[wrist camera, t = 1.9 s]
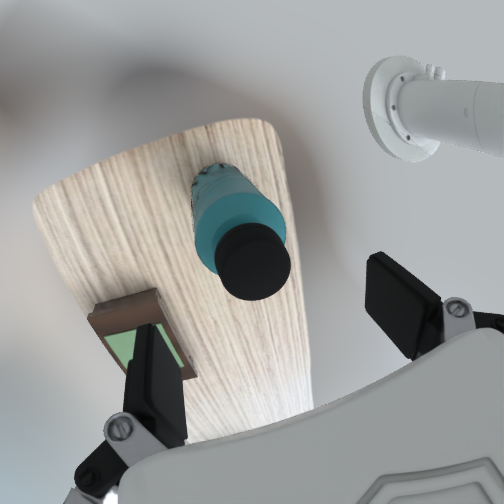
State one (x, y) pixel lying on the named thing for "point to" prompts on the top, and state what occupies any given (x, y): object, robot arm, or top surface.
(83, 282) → the top surface
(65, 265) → the top surface
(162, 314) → the shelf
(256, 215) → the beverage bottle
